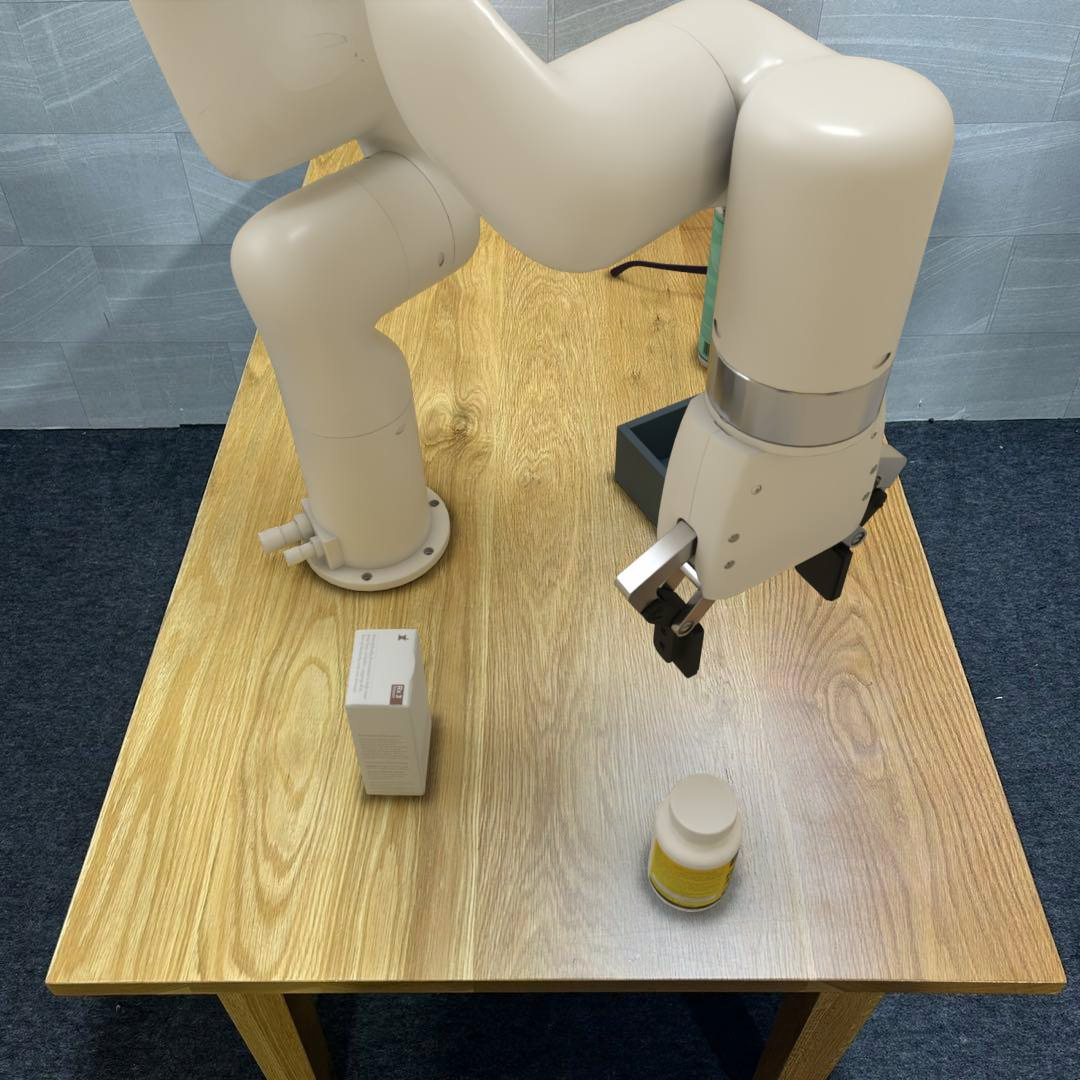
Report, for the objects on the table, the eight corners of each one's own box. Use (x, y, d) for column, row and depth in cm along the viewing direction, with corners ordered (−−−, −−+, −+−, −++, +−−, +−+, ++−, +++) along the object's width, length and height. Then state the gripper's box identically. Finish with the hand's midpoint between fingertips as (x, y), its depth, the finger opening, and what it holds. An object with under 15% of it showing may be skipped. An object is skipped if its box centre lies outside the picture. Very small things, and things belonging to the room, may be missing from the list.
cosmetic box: (375, 723, 76) (350, 624, 67) (436, 723, 76) (419, 623, 67) (365, 800, 72) (336, 705, 63) (429, 800, 72) (410, 704, 63)
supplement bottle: (733, 915, 66) (755, 847, 59) (649, 914, 66) (659, 845, 59) (725, 835, 70) (744, 762, 62) (645, 834, 70) (654, 761, 63)
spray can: (750, 376, 102) (782, 190, 87) (694, 370, 103) (716, 184, 88) (754, 342, 105) (784, 158, 90) (700, 337, 106) (722, 152, 91)
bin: (687, 563, 86) (694, 511, 81) (613, 478, 93) (616, 425, 88) (798, 512, 89) (811, 460, 85) (720, 434, 96) (727, 381, 92)
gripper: (885, 269, 49) (823, 517, 62) (577, 395, 44) (578, 640, 56) (1008, 350, 45) (913, 600, 57) (682, 503, 39) (657, 742, 52)
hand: (747, 619), depth 57 cm, fingers open, 9 cm apart
